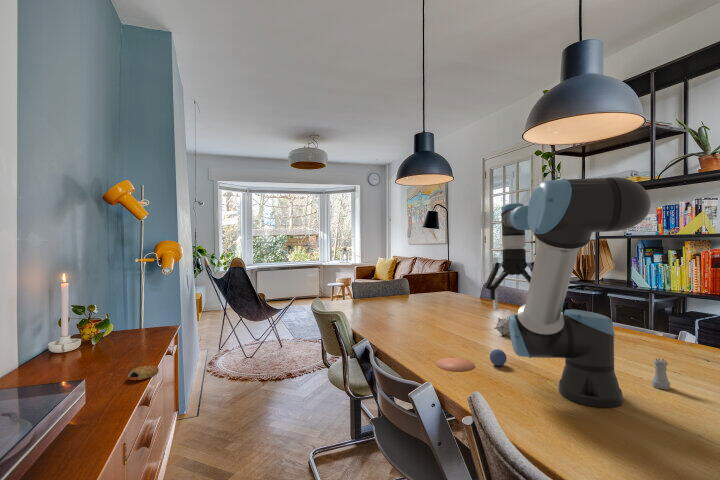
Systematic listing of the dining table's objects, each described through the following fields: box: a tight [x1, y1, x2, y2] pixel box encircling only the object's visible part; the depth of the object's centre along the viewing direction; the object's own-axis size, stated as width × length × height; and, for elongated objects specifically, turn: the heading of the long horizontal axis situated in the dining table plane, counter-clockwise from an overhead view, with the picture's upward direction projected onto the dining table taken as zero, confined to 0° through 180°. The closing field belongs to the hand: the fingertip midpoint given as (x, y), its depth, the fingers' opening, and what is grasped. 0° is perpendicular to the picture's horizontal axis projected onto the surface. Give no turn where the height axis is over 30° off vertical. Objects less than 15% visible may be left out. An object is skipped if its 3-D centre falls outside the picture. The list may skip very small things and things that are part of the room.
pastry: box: [127, 365, 159, 379], centre depth 126 cm, size 9×7×4 cm
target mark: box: [436, 357, 476, 372], centre depth 130 cm, size 13×13×1 cm
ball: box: [489, 348, 508, 367], centre depth 128 cm, size 6×6×6 cm
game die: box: [493, 316, 510, 337], centre depth 165 cm, size 9×8×10 cm
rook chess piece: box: [651, 357, 671, 390], centre depth 107 cm, size 4×4×8 cm
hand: (515, 309), depth 129 cm, fingers open, 13 cm apart
